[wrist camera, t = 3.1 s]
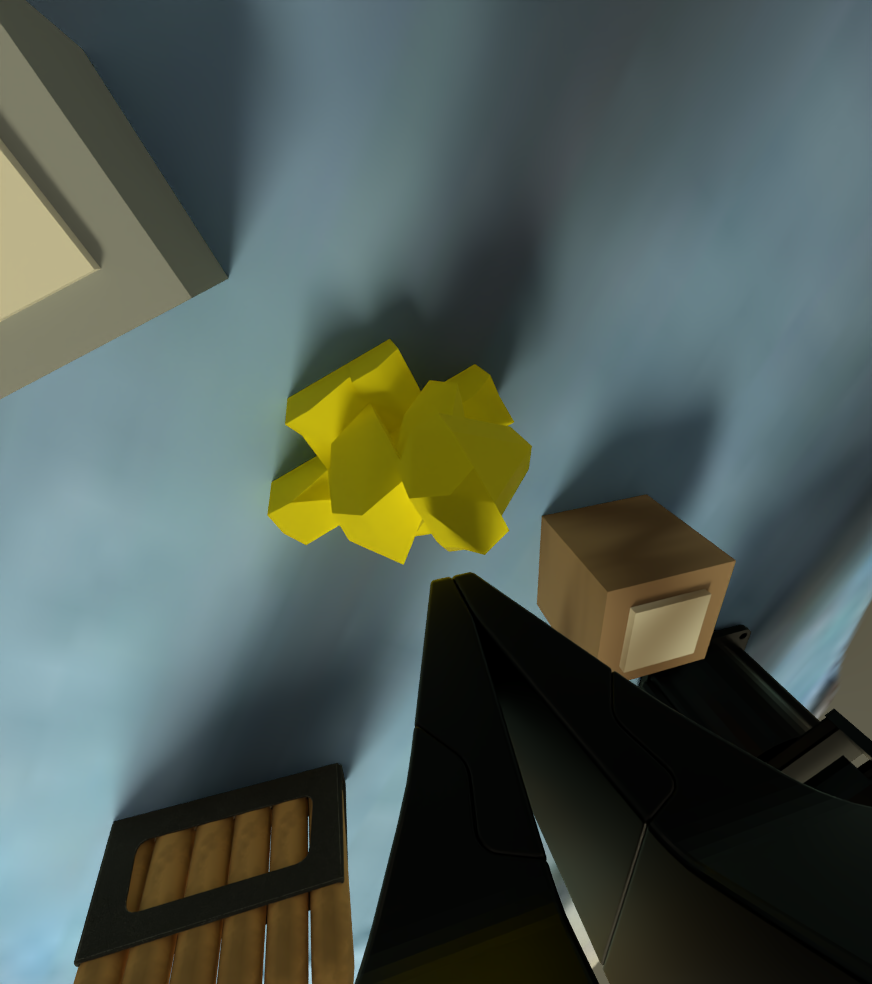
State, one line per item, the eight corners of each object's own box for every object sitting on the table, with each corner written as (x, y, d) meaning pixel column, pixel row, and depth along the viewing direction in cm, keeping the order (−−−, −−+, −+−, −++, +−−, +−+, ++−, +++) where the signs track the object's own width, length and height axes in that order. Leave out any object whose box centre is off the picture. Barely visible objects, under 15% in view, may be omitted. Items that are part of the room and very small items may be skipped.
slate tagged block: (83, 50, 10) (-94, -102, 6) (228, 278, 13) (188, 299, 8) (-118, 157, 10) (-459, 91, 6) (68, 362, 13) (-60, 430, 8)
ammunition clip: (341, 761, 24) (370, 1151, 14) (345, 781, 25) (375, 1161, 15) (112, 821, 22) (-56, 1337, 12) (126, 841, 23) (-18, 1335, 12)
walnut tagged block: (645, 493, 20) (742, 565, 16) (629, 580, 23) (709, 664, 18) (540, 514, 19) (612, 598, 15) (536, 603, 22) (596, 696, 17)
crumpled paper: (230, 430, 15) (170, 587, 8) (447, 303, 14) (568, 357, 8) (332, 552, 18) (349, 737, 11) (512, 449, 18) (637, 574, 11)
